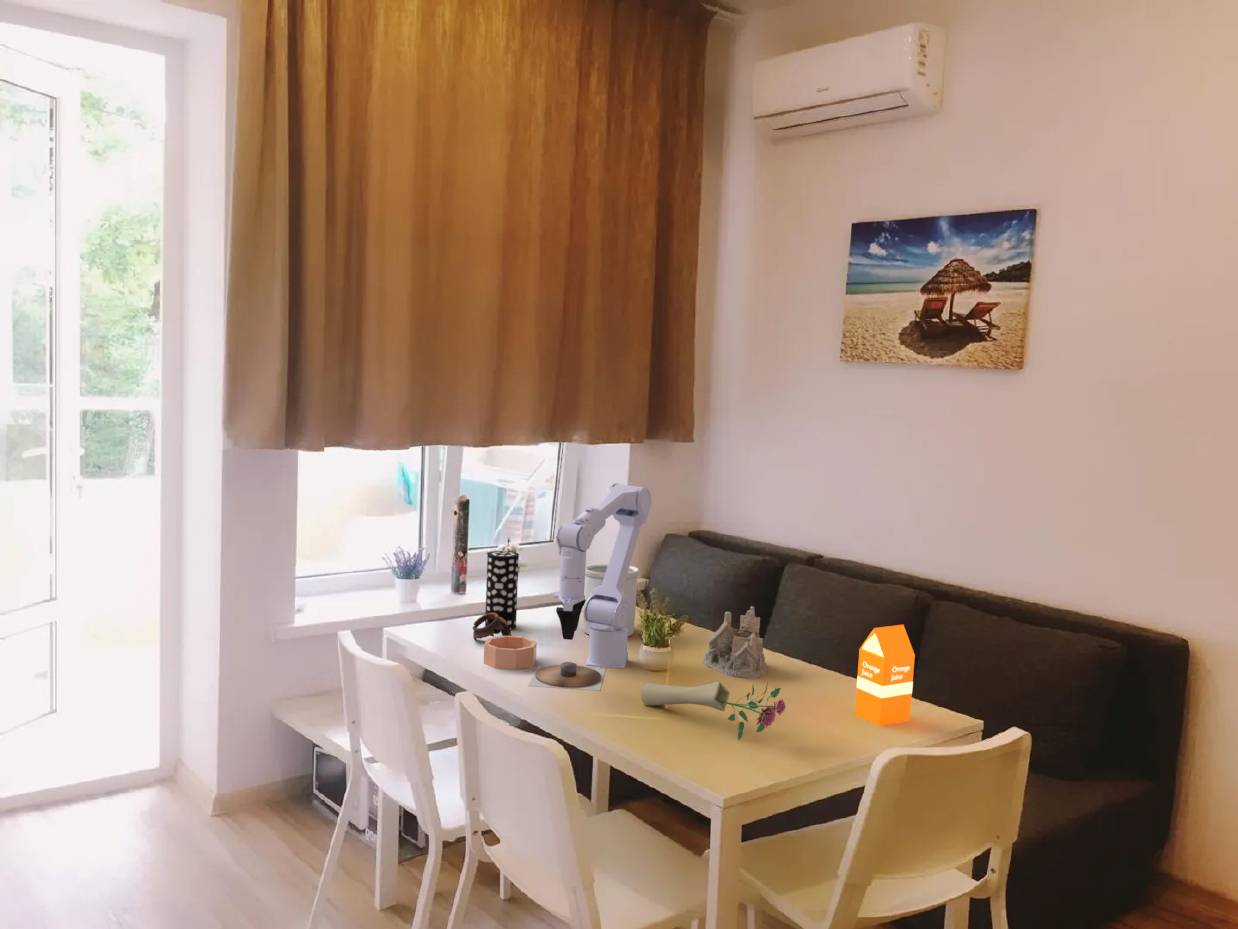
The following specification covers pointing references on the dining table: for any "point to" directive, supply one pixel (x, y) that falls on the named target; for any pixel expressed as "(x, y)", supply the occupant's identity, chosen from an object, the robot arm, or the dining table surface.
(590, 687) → the grey mat
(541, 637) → the dining table surface
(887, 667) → the orange juice
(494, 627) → the brown openwork ring
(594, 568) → the utensil holder
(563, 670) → the walnut lid
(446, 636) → the dining table surface
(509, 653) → the terracotta bowl
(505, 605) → the white-spotted black cylinder
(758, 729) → the flower vase
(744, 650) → the ceramic cottage
